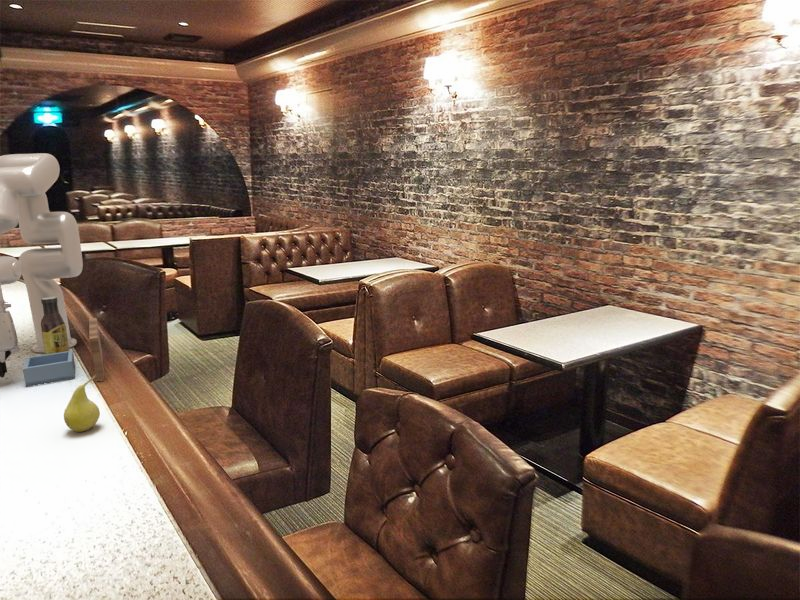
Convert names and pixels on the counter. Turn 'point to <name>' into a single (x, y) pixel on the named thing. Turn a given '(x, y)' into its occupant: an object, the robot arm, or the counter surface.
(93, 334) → the back board
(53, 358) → the caddy
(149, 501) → the counter surface
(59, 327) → the sauce bottle
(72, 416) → the fruit
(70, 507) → the counter surface
